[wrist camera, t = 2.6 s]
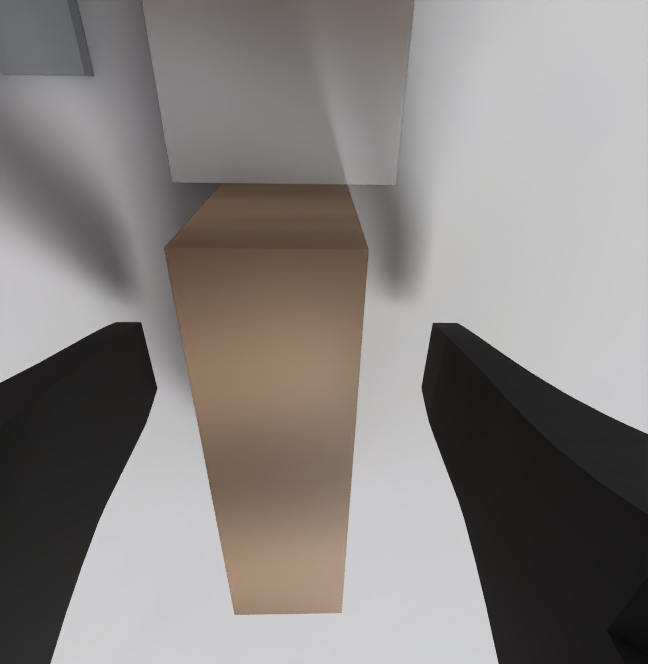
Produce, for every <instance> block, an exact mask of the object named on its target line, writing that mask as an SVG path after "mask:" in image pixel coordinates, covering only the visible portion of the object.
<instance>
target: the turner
mask: <svg viewBox="0 0 648 664" xmlns="http://www.w3.org/2000/svg"><path fill="white" fill-rule="evenodd" d="M142 6H143V11H144V17H145V23H146V29H147V35H148V41H149V47H150V53H151V59H152V65H153V71H154V77H155V83H156V89H157V95H158V101H159V107H160V113H161V119H162V125H163V131H164V137H165V143H166V149H167V155H168V161H169V167H170V173H171V179H172V182H175V183H221V185H220V186H219V187H218V188H217V189H216V190H215V191H214V192H213V194H212V195H211V196H210V197H209V198H208V199H207V200H206V201H205V203H204V204H203V205H202V206H201V207H200V208H199V209H198V210H197V212H196V213H195V214H194V215H193V216H192V217H191V218H190V219H189V221H188V222H187V223H186V224H185V225H184V226H183V227H182V228H181V230H180V231H179V232H178V233H177V234H176V235H175V236H174V237H173V239H172V240H171V241H170V242H169V243H168V244H167V245H166V246H165V248H164V250H165V255H166V260H167V266H168V271H169V276H170V281H171V286H172V292H173V297H174V302H175V307H176V312H177V318H178V323H179V328H180V333H181V338H182V344H183V349H184V354H185V359H186V364H187V370H188V375H189V380H190V385H191V390H192V396H193V401H194V406H195V411H196V416H197V422H198V427H199V432H200V437H201V442H202V448H203V453H204V458H205V463H206V468H207V474H208V479H209V484H210V489H211V494H212V500H213V505H214V510H215V515H216V520H217V526H218V531H219V536H220V541H221V546H222V552H223V557H224V562H225V567H226V572H227V578H228V583H229V588H230V593H231V598H232V604H233V609H234V614H235V615H251V614H309V613H342V599H343V586H344V572H345V559H346V545H347V532H348V518H349V505H350V491H351V478H352V465H353V451H354V438H355V424H356V411H357V397H358V384H359V370H360V357H361V343H362V330H363V317H364V303H365V290H366V276H367V263H368V246H367V243H366V240H365V237H364V234H363V231H362V228H361V225H360V222H359V219H358V216H357V213H356V210H355V207H354V204H353V201H352V198H351V195H350V192H349V189H348V186H347V184H353V185H396V177H397V167H398V157H399V148H400V138H401V128H402V118H403V108H404V98H405V88H406V78H407V69H408V59H409V49H410V39H411V29H412V19H413V9H414V0H142Z"/></svg>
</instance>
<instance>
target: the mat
mask: <svg viewBox="0 0 648 664" xmlns="http://www.w3.org/2000/svg"><path fill="white" fill-rule="evenodd" d="M0 74H18V75H73V76H94V74H93V69H92V65H91V61H90V56H89V52H88V48H87V43H86V39H85V35H84V30H83V26H82V22H81V17H80V13H79V9H78V4H77V0H0Z"/></svg>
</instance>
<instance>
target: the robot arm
mask: <svg viewBox="0 0 648 664" xmlns="http://www.w3.org/2000/svg"><path fill="white" fill-rule="evenodd" d="M156 391H157V385H156V381H155V377H154V373H153V369H152V365H151V361H150V357H149V353H148V349H147V345H146V340H145V336H144V332H143V328H142V324H141V322H115V323H113V324H111V325H108V326H106V327H104V328H102V329H100V330H98V331H96V332H94V333H92V334H90V335H89V336H87V337H85V338H83V339H81V340H79V341H78V342H76V343H74V344H72V345H70V346H69V347H67V348H65V349H63V350H61V351H60V352H58V353H56V354H54V355H52V356H51V357H49V358H47V359H45V360H43V361H42V362H40V363H38V364H36V365H34V366H32V367H30V368H28V369H26V370H24V371H22V372H20V373H19V374H17V375H15V376H13V377H11V378H9V379H7V380H5V381H3V382H1V383H0V664H50V663H51V660H52V656H53V653H54V650H55V647H56V644H57V640H58V637H59V634H60V631H61V627H62V624H63V621H64V618H65V614H66V611H67V608H68V606H69V603H70V600H71V597H72V594H73V591H74V588H75V585H76V582H77V579H78V576H79V573H80V570H81V567H82V565H83V562H84V559H85V557H86V554H87V551H88V548H89V546H90V543H91V540H92V538H93V535H94V532H95V530H96V527H97V524H98V522H99V519H100V517H101V515H102V513H103V510H104V508H105V506H106V504H107V502H108V500H109V498H110V496H111V494H112V492H113V490H114V488H115V486H116V484H117V482H118V480H119V478H120V476H121V474H122V472H123V469H124V467H125V465H126V463H127V461H128V459H129V457H130V455H131V453H132V451H133V449H134V447H135V445H136V443H137V441H138V439H139V437H140V435H141V433H142V431H143V429H144V427H145V424H146V422H147V419H148V416H149V413H150V410H151V407H152V404H153V401H154V397H155V394H156ZM422 392H423V397H424V402H425V407H426V411H427V415H428V420H429V423H430V426H431V429H432V432H433V434H434V437H435V440H436V442H437V445H438V448H439V451H440V453H441V456H442V458H443V461H444V464H445V466H446V469H447V472H448V474H449V477H450V480H451V482H452V485H453V488H454V490H455V493H456V496H457V498H458V501H459V504H460V507H461V510H462V513H463V516H464V520H465V523H466V527H467V531H468V535H469V539H470V542H471V546H472V550H473V554H474V558H475V562H476V566H477V570H478V574H479V578H480V583H481V587H482V591H483V595H484V599H485V603H486V608H487V612H488V617H489V621H490V626H491V631H492V635H493V640H494V644H495V649H496V654H497V658H498V663H499V664H648V434H646V433H644V432H642V431H640V430H637V429H635V428H633V427H630V426H628V425H626V424H624V423H622V422H620V421H618V420H615V419H613V418H611V417H609V416H607V415H605V414H603V413H601V412H599V411H597V410H596V409H594V408H592V407H590V406H588V405H586V404H584V403H582V402H580V401H578V400H576V399H574V398H573V397H571V396H569V395H567V394H565V393H564V392H562V391H560V390H559V389H557V388H555V387H554V386H552V385H550V384H549V383H547V382H545V381H544V380H542V379H540V378H539V377H537V376H536V375H534V374H532V373H531V372H529V371H528V370H526V369H525V368H523V367H522V366H520V365H519V364H517V363H516V362H514V361H513V360H511V359H510V358H508V357H507V356H505V355H504V354H502V353H501V352H500V351H498V350H497V349H495V348H494V347H492V346H491V345H490V344H488V343H487V342H485V341H484V340H482V339H481V338H480V337H478V336H477V335H475V334H474V333H472V332H471V331H469V330H468V329H466V328H465V327H463V326H461V325H460V324H458V323H433V325H432V331H431V337H430V342H429V348H428V354H427V359H426V365H425V371H424V377H423V382H422Z"/></svg>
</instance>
